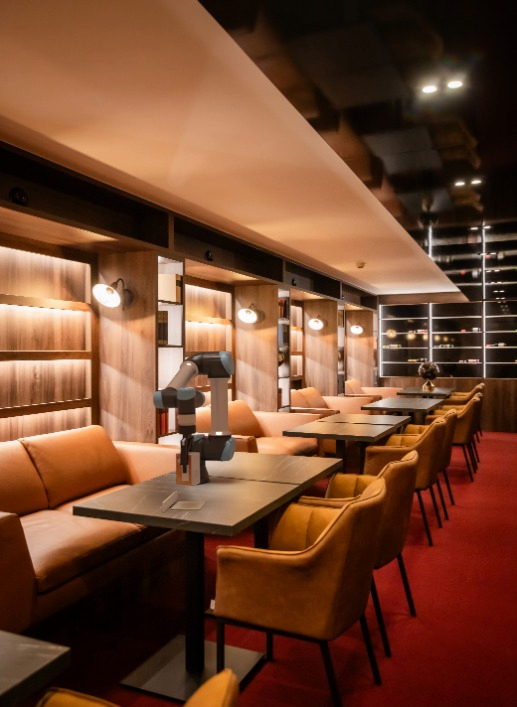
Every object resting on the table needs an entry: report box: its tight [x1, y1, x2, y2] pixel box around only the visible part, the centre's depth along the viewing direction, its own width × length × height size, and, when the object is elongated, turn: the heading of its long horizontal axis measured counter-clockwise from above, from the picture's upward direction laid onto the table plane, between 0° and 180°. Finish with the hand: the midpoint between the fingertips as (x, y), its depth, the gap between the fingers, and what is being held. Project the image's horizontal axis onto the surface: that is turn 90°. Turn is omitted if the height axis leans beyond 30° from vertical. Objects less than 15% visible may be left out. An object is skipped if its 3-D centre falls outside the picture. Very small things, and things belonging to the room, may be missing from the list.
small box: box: [175, 452, 200, 487], centre depth 248 cm, size 8×6×13 cm
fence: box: [161, 490, 179, 513], centre depth 249 cm, size 20×1×4 cm, turn 172°
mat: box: [170, 500, 207, 511], centre depth 248 cm, size 12×12×1 cm
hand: (188, 478), depth 248 cm, fingers closed on small box, 8 cm apart
